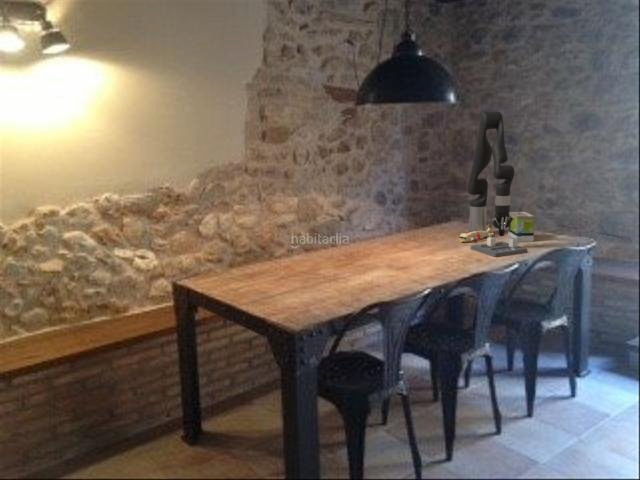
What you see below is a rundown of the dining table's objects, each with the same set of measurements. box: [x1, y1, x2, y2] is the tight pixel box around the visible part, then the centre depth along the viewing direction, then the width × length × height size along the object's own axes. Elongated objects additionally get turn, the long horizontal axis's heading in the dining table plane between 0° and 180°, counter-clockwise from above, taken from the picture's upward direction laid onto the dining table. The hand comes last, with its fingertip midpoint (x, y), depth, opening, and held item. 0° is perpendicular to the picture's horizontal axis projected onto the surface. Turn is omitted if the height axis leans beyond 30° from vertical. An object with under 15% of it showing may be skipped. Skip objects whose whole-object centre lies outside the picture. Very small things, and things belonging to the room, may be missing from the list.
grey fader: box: [508, 238, 519, 247], centre depth 299 cm, size 3×3×5 cm
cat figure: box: [458, 223, 496, 243], centre depth 329 cm, size 10×9×25 cm
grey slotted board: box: [470, 241, 528, 258], centre depth 302 cm, size 20×20×2 cm
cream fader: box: [486, 236, 496, 246], centre depth 304 cm, size 3×3×5 cm
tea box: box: [507, 211, 536, 243], centre depth 325 cm, size 15×10×15 cm, turn 179°
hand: (501, 235), depth 306 cm, fingers closed
